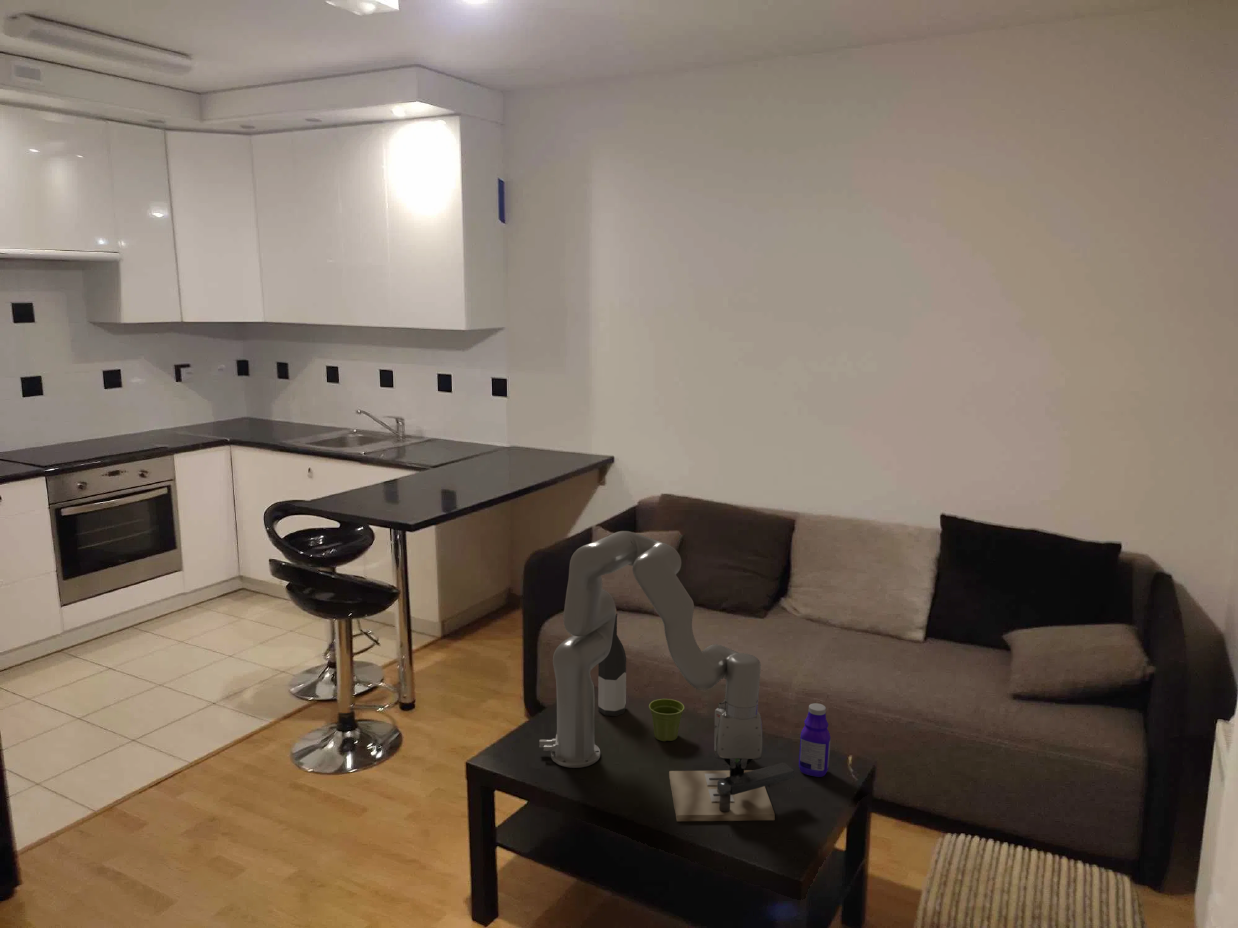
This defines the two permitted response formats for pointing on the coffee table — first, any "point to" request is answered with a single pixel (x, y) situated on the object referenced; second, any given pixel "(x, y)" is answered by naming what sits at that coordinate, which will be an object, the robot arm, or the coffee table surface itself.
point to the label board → (715, 799)
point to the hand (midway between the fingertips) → (736, 781)
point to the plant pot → (666, 718)
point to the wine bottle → (612, 679)
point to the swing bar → (754, 779)
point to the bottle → (815, 742)
